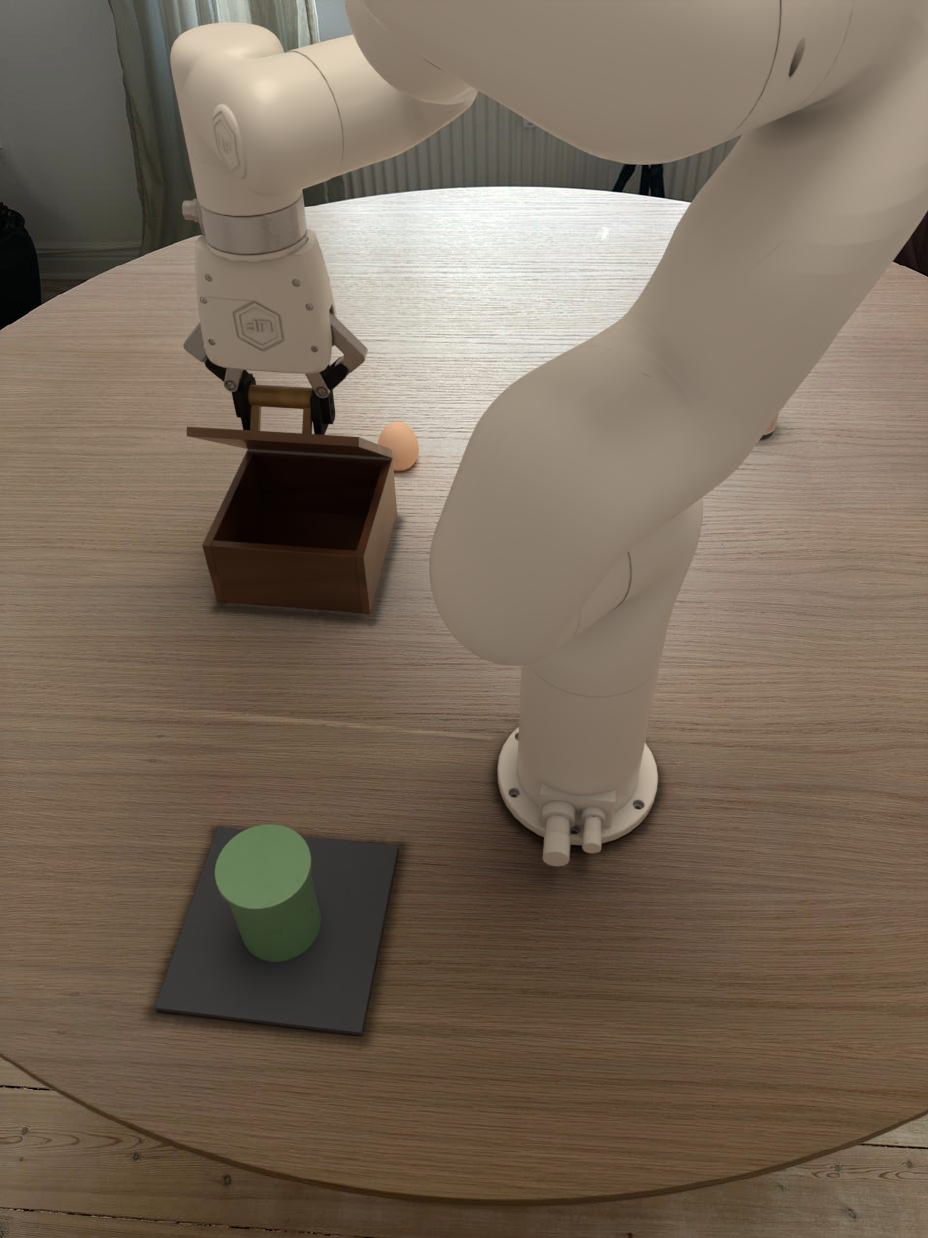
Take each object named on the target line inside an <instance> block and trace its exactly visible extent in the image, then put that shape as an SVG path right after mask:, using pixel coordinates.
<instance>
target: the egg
mask: <svg viewBox="0 0 928 1238" xmlns="http://www.w3.org/2000/svg"><path fill="white" fill-rule="evenodd" d="M377 444H379V445H381V446H384V447H386V448H389V449H392V450H393V451H392V458H393V468H394V472H404V471H406V470H409V469H410V468H411V467H413V466H414V464H415V463H416V461H417V460H418V457H419V454H420V453H419V452H420V446H419V441H418V437H417V435H416V433H414V431H413V429H412V428H411V427H410V426H409V425H407V424H406V423H404V422H400V421H394V422H391V423H388V424H387V425H386V426H384V428H383V429H382V431H381V432H380V434H379V437H378V440H377Z"/></svg>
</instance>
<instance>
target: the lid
mask: <svg viewBox="0 0 928 1238" xmlns="http://www.w3.org/2000/svg"><path fill="white" fill-rule="evenodd" d="M312 393H313V388H312V387H309V386H308V387H305V386H290V385H288V386H287V385H273V384H271V385H270V384H256V385H254V384H251V385H250V386H249V389H248V401H249V404H250V406H251V426H250V430H243V429H234V428H217V427H203V426H202V427H201V426H198V427H197V426H186V437H189V438H192V439H193V438H194V439H198V440H202V441H208V442H211V443H217V444H221V445H222V444H223V445H226V446H231V447H236V448H240V449H245V450H247V449H256V450H272V451H288V452H304V453H320V454H336V455H352V456H368V457H384V458H392V451H393V450H392V449H389V448H386V447H384V446H381V445H379V444H378V443H376V442H374V441H371V440H368V439H365V438H364V437H363V438H362V437H360V436H349V435H336V434H335V435H334V434H325V435H319V434H314V433H313V421H312V414H311V407H310V397H311V395H312ZM262 407H263V408H275V409H276V408H278V409H296V410H302V424H301V425H302V427H301V433H299V432H286V431H266V430H261V425H262V423H261V422H262Z"/></svg>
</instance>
